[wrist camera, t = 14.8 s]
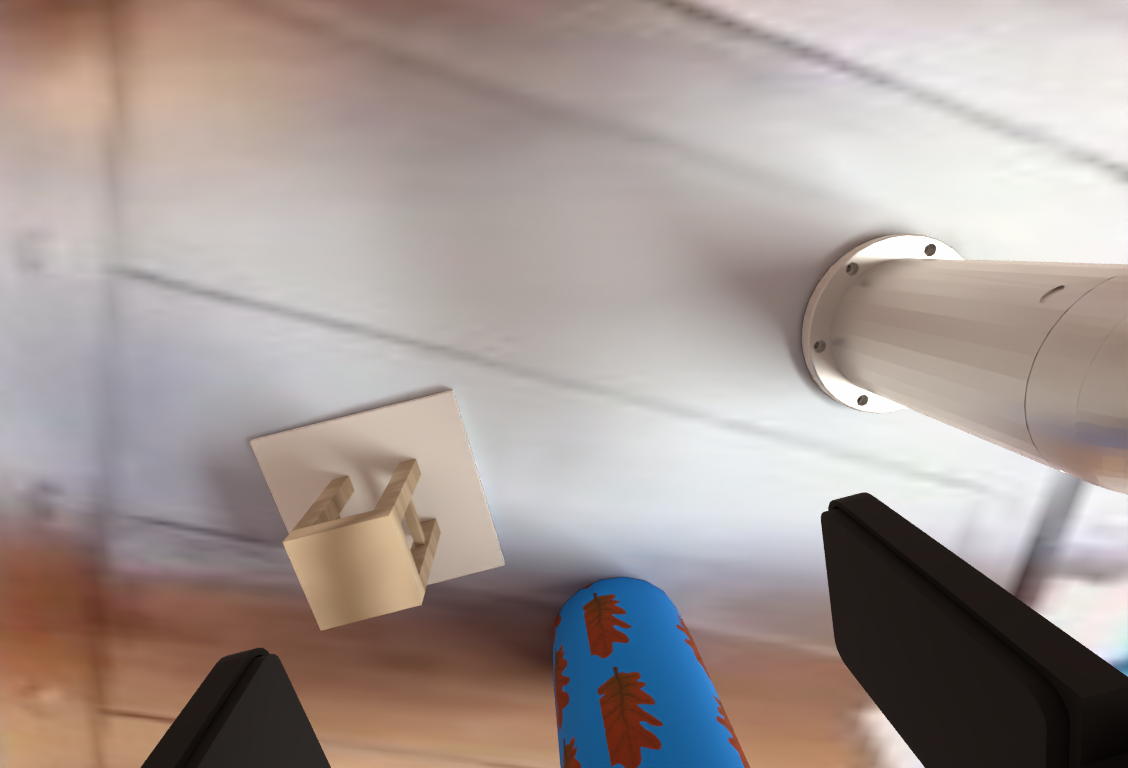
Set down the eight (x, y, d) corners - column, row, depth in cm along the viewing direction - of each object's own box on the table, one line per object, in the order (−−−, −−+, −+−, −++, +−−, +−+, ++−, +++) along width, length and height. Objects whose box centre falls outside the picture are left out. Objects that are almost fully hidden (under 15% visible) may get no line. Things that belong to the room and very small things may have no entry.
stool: (416, 458, 37) (389, 515, 29) (440, 532, 38) (421, 604, 31) (332, 479, 37) (282, 542, 29) (360, 552, 38) (320, 630, 30)
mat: (452, 389, 36) (451, 391, 36) (504, 560, 40) (504, 565, 39) (253, 438, 36) (249, 441, 35) (324, 606, 40) (321, 612, 39)
